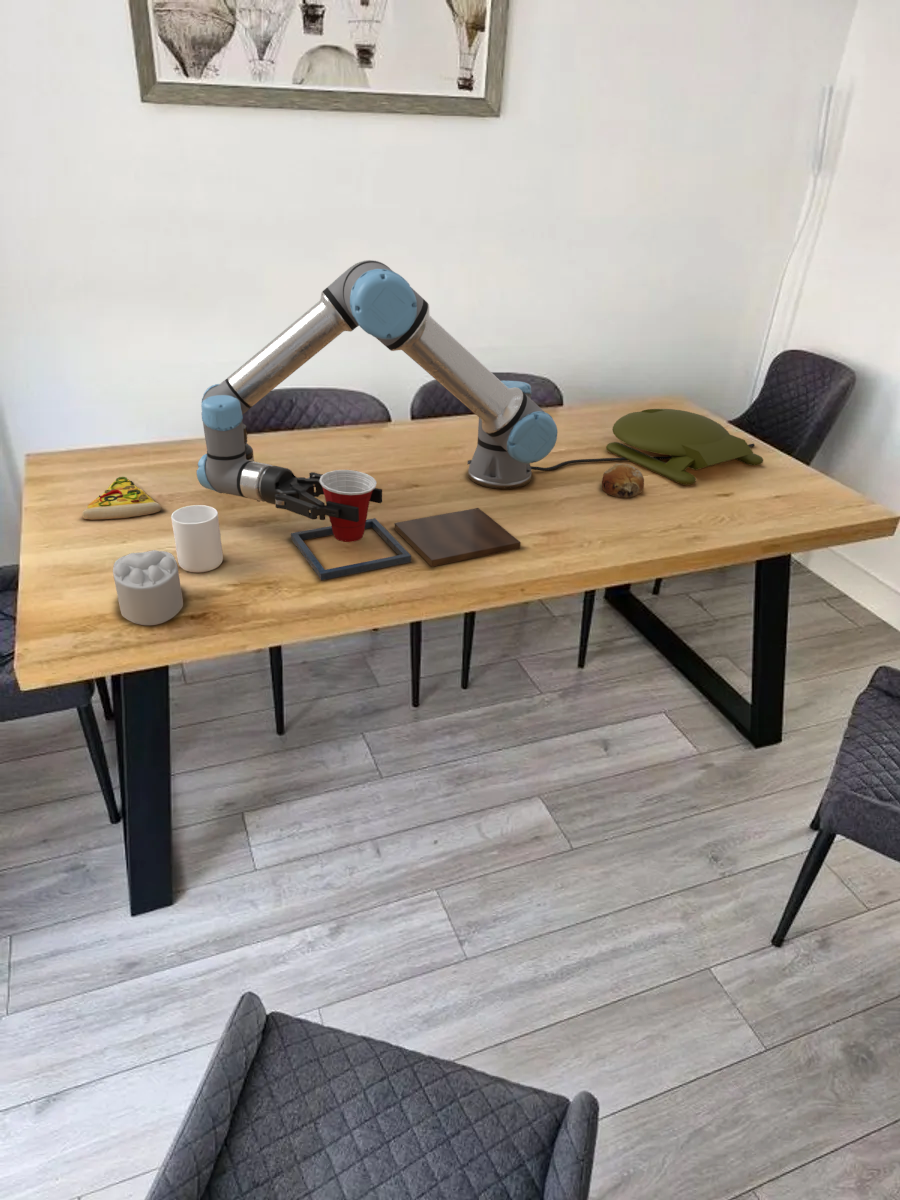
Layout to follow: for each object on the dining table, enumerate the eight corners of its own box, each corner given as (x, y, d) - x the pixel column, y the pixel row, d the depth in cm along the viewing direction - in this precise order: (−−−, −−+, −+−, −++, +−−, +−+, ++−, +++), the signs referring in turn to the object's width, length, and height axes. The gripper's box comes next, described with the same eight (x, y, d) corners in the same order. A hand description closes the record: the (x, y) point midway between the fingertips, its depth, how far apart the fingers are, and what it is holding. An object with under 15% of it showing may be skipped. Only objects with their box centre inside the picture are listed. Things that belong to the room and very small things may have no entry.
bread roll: (642, 503, 197) (650, 470, 196) (636, 500, 188) (644, 465, 187) (602, 495, 201) (610, 462, 200) (594, 491, 191) (602, 457, 190)
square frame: (375, 524, 174) (375, 518, 173) (411, 562, 160) (411, 555, 159) (291, 539, 166) (290, 532, 166) (321, 580, 153) (321, 573, 152)
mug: (168, 550, 160) (160, 502, 155) (210, 542, 164) (204, 494, 159) (185, 577, 152) (177, 527, 146) (229, 567, 155) (223, 518, 150)
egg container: (179, 583, 150) (172, 541, 145) (186, 619, 139) (180, 575, 135) (118, 592, 146) (110, 549, 142) (122, 630, 136) (112, 584, 132)
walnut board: (477, 513, 180) (478, 507, 180) (520, 548, 167) (520, 541, 166) (394, 529, 172) (394, 522, 171) (431, 567, 159) (431, 560, 158)
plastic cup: (368, 551, 156) (367, 493, 150) (314, 544, 158) (311, 486, 152) (383, 527, 165) (383, 471, 159) (332, 521, 167) (330, 465, 161)
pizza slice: (83, 523, 169) (80, 510, 168) (86, 484, 186) (83, 472, 184) (161, 515, 174) (159, 502, 172) (158, 478, 191) (156, 466, 189)
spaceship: (766, 465, 212) (775, 429, 207) (685, 489, 197) (692, 450, 192) (665, 426, 236) (671, 392, 231) (586, 444, 221) (590, 408, 216)
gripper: (299, 482, 174) (395, 502, 167) (239, 521, 157) (342, 546, 150) (297, 449, 170) (395, 468, 163) (235, 485, 153) (341, 508, 146)
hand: (369, 505), depth 156 cm, fingers closed on plastic cup, 9 cm apart
